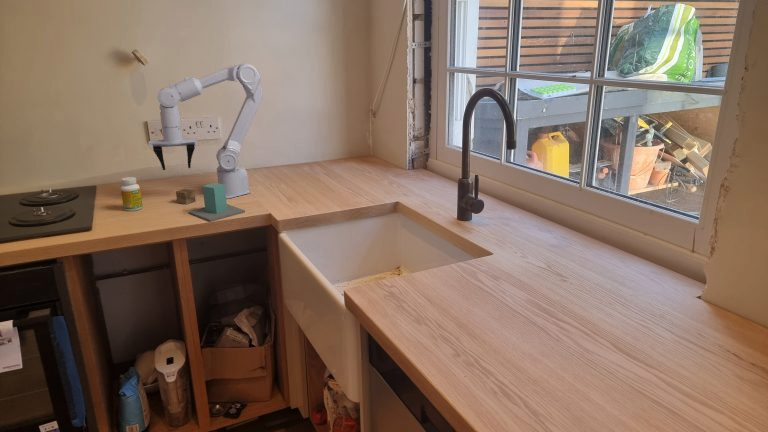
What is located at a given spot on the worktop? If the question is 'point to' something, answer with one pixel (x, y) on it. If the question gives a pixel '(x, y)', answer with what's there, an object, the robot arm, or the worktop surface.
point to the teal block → (214, 198)
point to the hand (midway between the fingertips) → (176, 168)
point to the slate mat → (212, 216)
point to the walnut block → (185, 196)
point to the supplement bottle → (131, 194)
